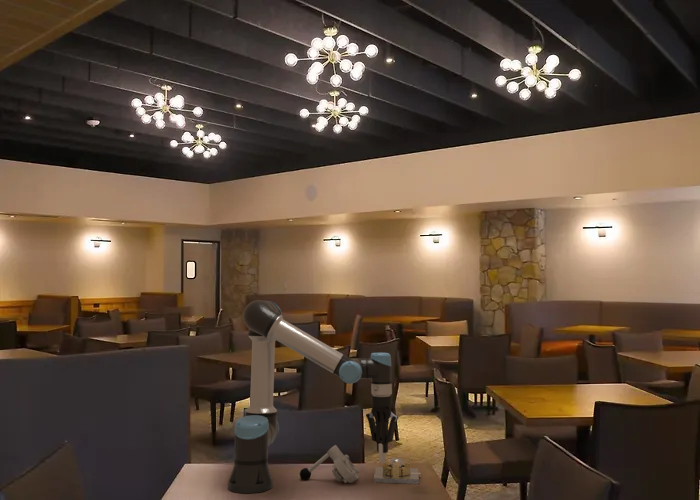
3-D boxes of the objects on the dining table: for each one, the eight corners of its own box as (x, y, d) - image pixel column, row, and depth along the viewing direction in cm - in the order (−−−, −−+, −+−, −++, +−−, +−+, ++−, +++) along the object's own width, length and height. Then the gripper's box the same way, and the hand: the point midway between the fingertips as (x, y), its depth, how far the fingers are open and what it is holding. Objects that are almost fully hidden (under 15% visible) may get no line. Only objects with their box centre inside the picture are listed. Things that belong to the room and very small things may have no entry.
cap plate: (373, 482, 217) (373, 463, 217) (376, 471, 232) (376, 453, 233) (420, 483, 215) (420, 464, 216) (420, 472, 231) (420, 454, 231)
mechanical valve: (357, 478, 211) (331, 443, 216) (318, 511, 212) (293, 475, 216) (363, 473, 221) (337, 439, 226) (326, 504, 222) (301, 470, 226)
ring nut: (383, 468, 229) (383, 455, 230) (410, 469, 228) (410, 456, 229) (381, 478, 216) (381, 464, 216) (410, 479, 215) (410, 465, 215)
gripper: (361, 395, 223) (362, 461, 220) (391, 397, 216) (392, 466, 213) (372, 393, 229) (373, 457, 227) (402, 395, 222) (403, 462, 219)
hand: (382, 461), depth 220 cm, fingers closed
